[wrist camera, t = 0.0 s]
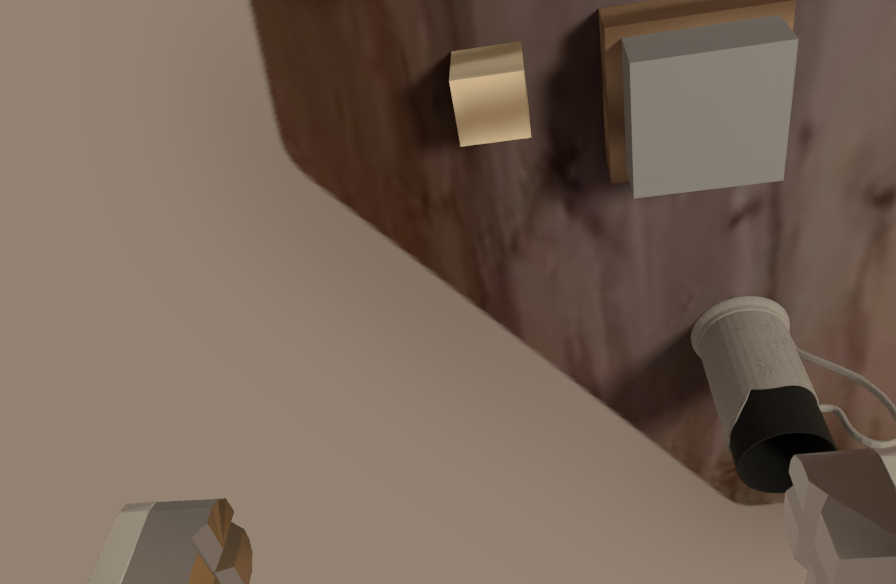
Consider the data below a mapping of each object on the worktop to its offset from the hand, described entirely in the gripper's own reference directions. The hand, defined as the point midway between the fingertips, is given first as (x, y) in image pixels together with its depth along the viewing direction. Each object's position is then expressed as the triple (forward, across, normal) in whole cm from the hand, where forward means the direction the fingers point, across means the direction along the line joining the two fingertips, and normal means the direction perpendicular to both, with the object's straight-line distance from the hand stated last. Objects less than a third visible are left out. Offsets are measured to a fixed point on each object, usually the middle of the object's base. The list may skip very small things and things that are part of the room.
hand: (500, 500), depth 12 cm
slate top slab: (+44, -12, +17) cm, 49 cm away
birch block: (+48, +2, +15) cm, 51 cm away
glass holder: (+48, -20, +43) cm, 68 cm away
